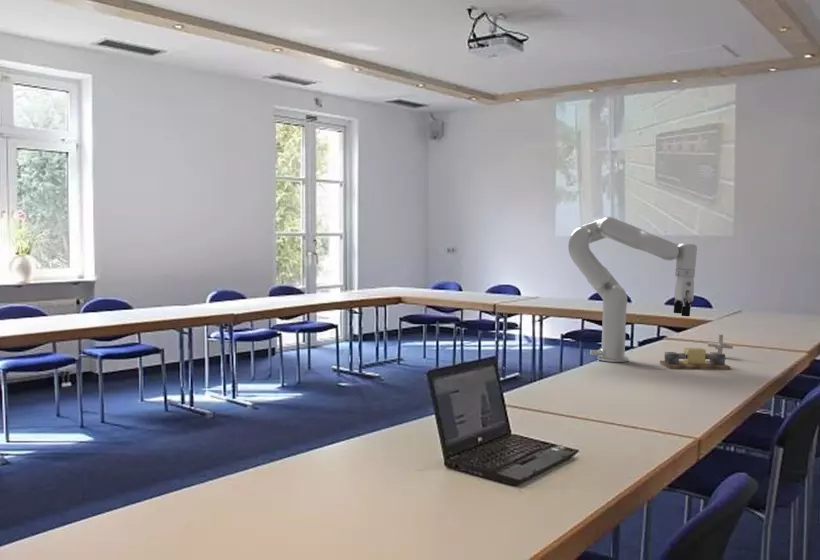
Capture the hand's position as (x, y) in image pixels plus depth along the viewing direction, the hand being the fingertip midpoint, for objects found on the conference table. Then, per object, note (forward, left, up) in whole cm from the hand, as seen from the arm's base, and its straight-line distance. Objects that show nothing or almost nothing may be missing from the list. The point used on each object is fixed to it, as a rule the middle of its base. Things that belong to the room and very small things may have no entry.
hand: (681, 314), depth 307 cm
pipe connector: (+24, +16, -21) cm, 35 cm away
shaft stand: (+3, -7, -20) cm, 22 cm away
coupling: (+3, -7, -19) cm, 21 cm away
